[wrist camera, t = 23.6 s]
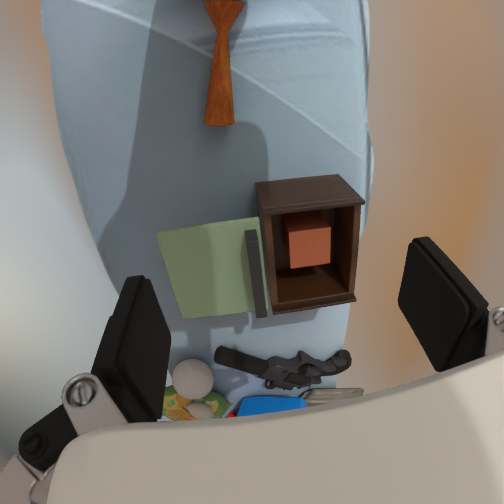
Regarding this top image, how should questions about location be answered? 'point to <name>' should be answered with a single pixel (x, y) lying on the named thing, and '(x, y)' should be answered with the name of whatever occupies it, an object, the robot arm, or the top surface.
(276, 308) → the walnut box
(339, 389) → the stone
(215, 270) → the sliding lid
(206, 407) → the beige rounded piece
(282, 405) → the blue toy gun
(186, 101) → the top surface
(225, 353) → the revolver
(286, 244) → the terracotta block
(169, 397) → the educational model
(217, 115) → the kendama
